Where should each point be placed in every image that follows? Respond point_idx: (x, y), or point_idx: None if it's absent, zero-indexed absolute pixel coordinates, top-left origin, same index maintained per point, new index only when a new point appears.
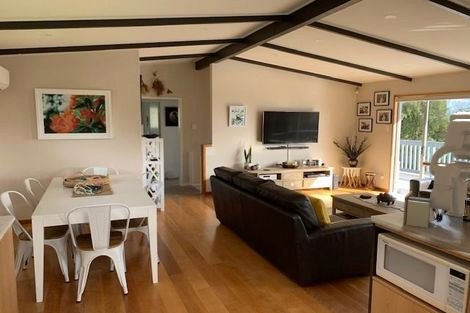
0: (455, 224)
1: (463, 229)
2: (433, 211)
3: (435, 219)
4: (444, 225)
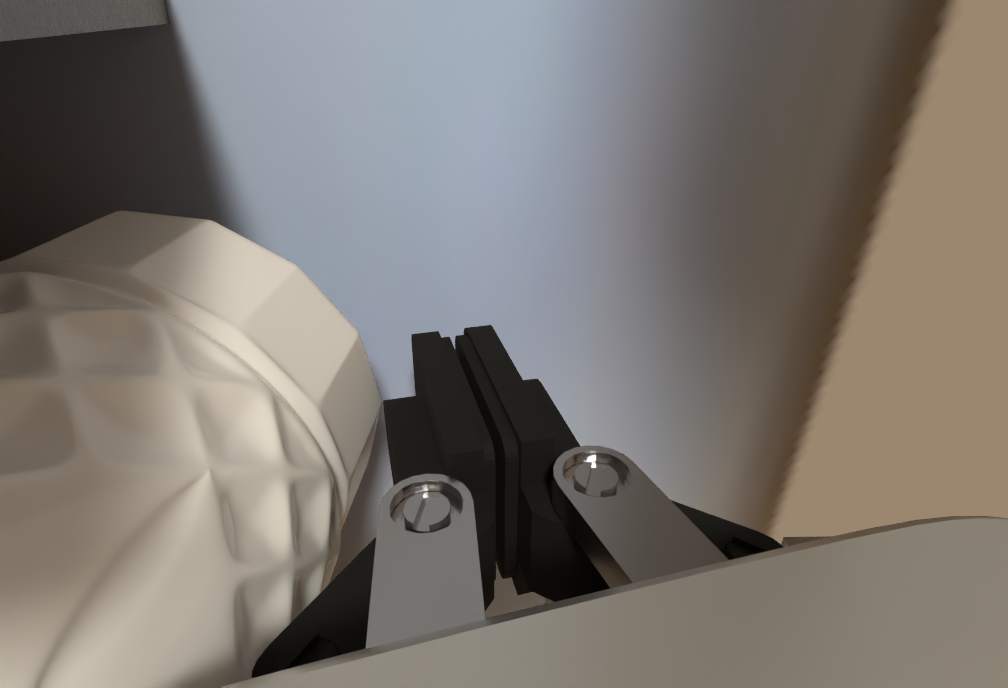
0: (770, 46)
1: (812, 344)
2: (291, 595)
3: (375, 429)
4: (543, 305)
